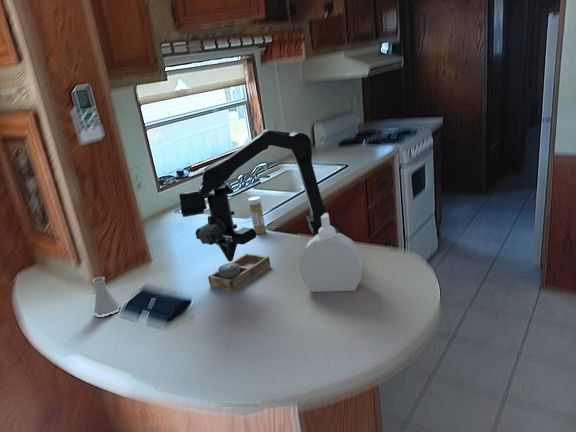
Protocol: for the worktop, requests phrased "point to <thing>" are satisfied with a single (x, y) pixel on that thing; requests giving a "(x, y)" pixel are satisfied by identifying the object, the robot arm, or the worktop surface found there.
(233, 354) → the worktop surface
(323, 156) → the worktop surface
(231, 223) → the robot arm
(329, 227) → the soap bottle
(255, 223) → the sprinkles bottle
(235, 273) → the lid
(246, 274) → the holder
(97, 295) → the flask
